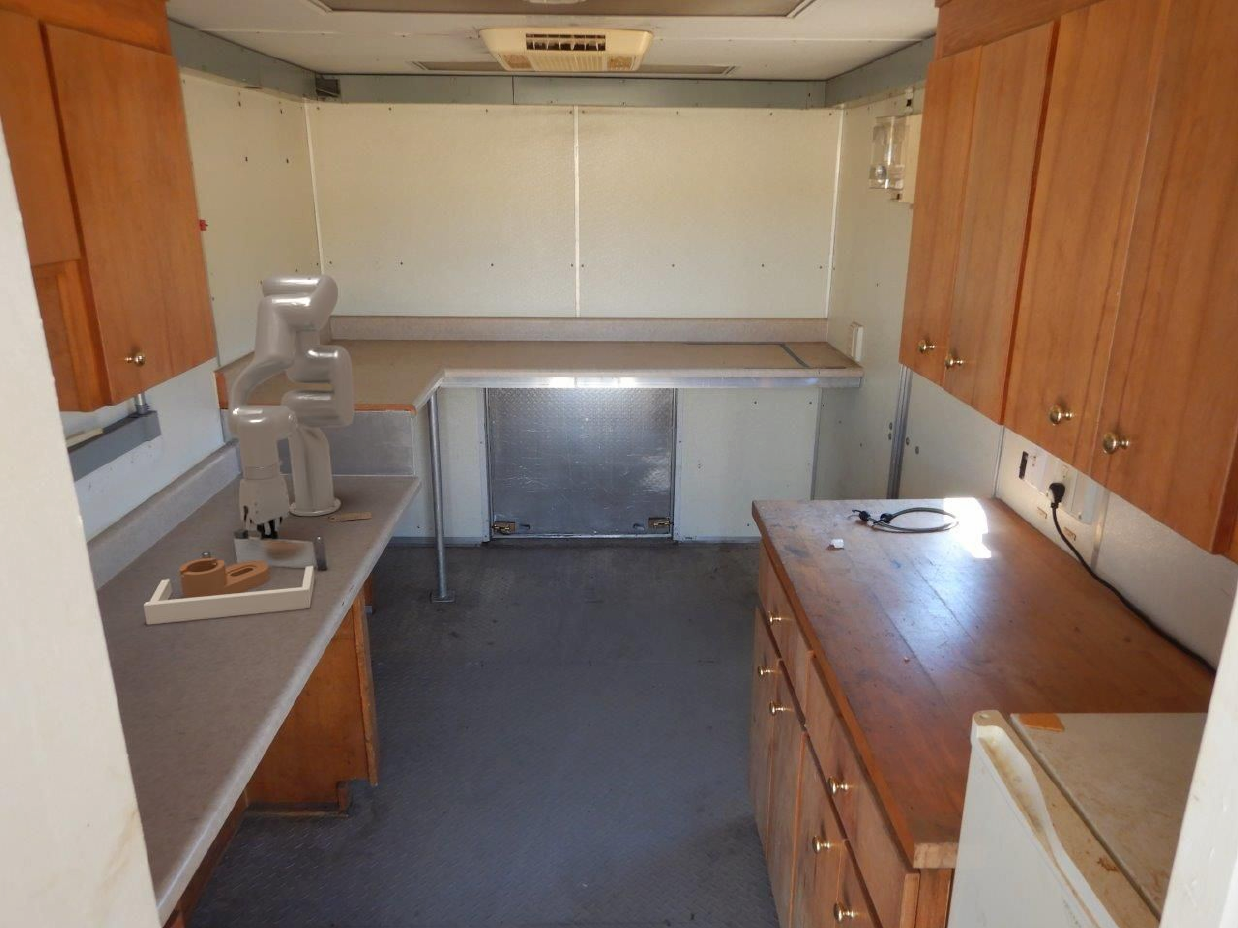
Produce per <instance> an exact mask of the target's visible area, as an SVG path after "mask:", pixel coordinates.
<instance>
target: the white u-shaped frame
mask: <svg viewBox="0 0 1238 928" xmlns="http://www.w3.org/2000/svg"><path fill="white" fill-rule="evenodd" d="M315 579H316V578H315V568H314V567H313V566H308V567H306V569H304V575H303V580H302V585H301V586H300V587H289V588H288V587H287V588H280V589H268V590H258V591H245V592H241V593H236V594H226V595H215V596H205V597H195V598H185V599H184V598H177V599H176V598H175V599H169V598H170V597H171V595H172V593H173V591H172V585H171V579H170V578H167V579H162V580H160V581H159V582H160V583H159V584H158V585H157V587H156V590H155V591H154V593H153V595H152V597H151V598H150V600H149V601H146V602H145V603H144V604H143V609H144V614H145V620H146V625H157V624H158V625H159V624H167V623H177V622H188V621H197V620H205V619H207V620H208V619H216V618H224V617H235V616H245V615H246V616H247V615H253V614H262V613H274V612H284V611H295V610H301V609H302V610H303V609H310V607H311V604H312V603H311V602H312V597H313V591H314V585H315Z"/></svg>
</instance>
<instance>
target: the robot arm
mask: <svg viewBox="0 0 1238 928" xmlns="http://www.w3.org/2000/svg"><path fill="white" fill-rule="evenodd" d="M338 290H339V289H338V285H337V282H336V281H335V279H334V278H333V277H332V276H330V275H327V274H317V273H315V274H312V273H311V274H310V273H309V274H307V273H306V274H304V273H299V274H298V273H278V274H273V275H268V276H266V277H265V278H264V279H263V280H262V283H261V291H262V294H263V298H262V299H261V300H260V301H259V302H258V306H257V314H256V315H257V317H256V327H255V328H256V330H255V341H254V354H253V359H252V360H251V362H250V363H248V365H247V366H246V367H245V368H244V369H243V370H242V371H241V372H240V373H239V374H238V376H237V378H236V379H235V381H234V383H233V385H232V386H231V389H230V392H229V398H228V410H227V426H228V430H229V433H230V434H231V435H232V436H233V437H234V438H236V439H238V443H239V452H240V460H241V467H242V475H243V478H241V479H240V481H239V488H238V489H239V490H238V497H239V498H238V502H239V503H238V504H239V515H240V520H241V521H242V522H243V523H244V522H245V529H246V530H248V532H249V531H250V532H253V531H257V532H258V533H260V535H261V538H270V539H279V536H278V532H279V530H280V526H281V523H282V522H283V521H284V520H285V519H287V518H288V517H290V513H291V514H293V515H296V516H300V517H318V516H325V515H328V514H332V513H334V512H336V511H338V510H339V509H340V508H341V506H342V505H341V504H342V502H341V500H340V499H338V498H337V497H334V484H333V473H332V465H331V463H332V462H331V457H330V456H331V455H330V444H329V441H328V438H327V436H326V435H325V433H324V432H323V430H321V428H344V427H345V428H346V427H348V426H349V425H351V424H352V423H353V421H354V417H355V394H354V393H355V391H354V374H353V362H352V358H351V355H350V353H349V351H348V350H347V349H346V348H345V347H343V346H341V345H323V344H321V341H320V331H321V330H322V329H323V328H325V325H326V324H327V322H328V320H329V318H330V317H331V315H332V313H333V311H334V310H335V307H336V304H337V301H338V297H339V292H338ZM282 372H285V375H286V377H287V379H288V380H289V381H290V382H292V383H295V384H304V385H305V384H308V385H309V384H311V385H313V384H314V385H315V384H318V385H319V384H320V385H322V384H323V385H324V384H325V385H330V386H331V389H330V388H329V389H328V388H325V389H324V388H323V389H321V388H299V389H292V390H289V391H287V392H286V393H285V394H283V396H282V398H281V399H280V405H248V401H249V398H250V395H251V393H252V392H253V390H254V389H255V388H256V387H257V386H258V385H259V384H260V383H262V382H264V381H265V380H268V379H270V378H272V377H274V376H276V375H278V374H281V373H282ZM286 439H288V445H289V454H290V465H291V472H292V482H293V490H294V491H293V493H294V502H292V503H290V498H289V497H290V495H289V491H288V487H287V483H286V479H285V477H284V474H283V472H281V466H282V465H283V464H284V463H283V460H282V459H280V458H279V450H278V442H280V441H284V440H286ZM289 512H290V513H289Z"/></svg>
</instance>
